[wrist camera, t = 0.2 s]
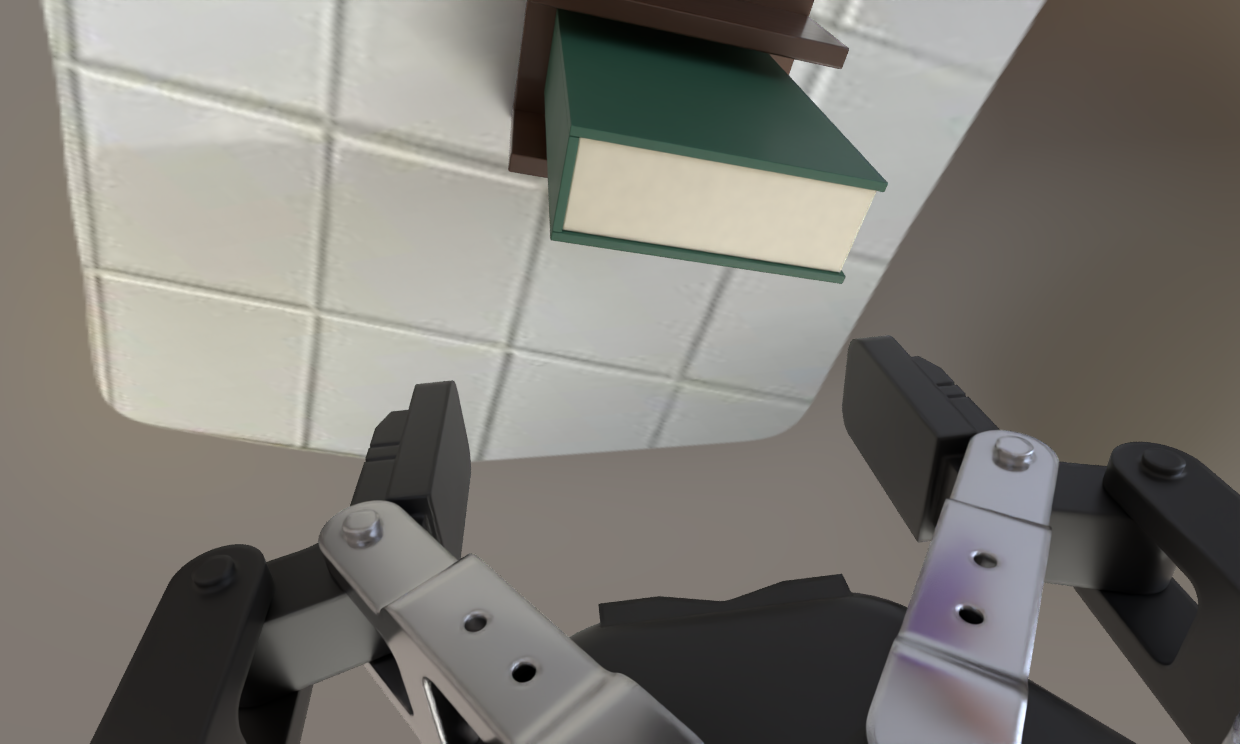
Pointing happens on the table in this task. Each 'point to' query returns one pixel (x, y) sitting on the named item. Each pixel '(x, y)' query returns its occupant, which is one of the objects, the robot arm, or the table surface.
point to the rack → (677, 3)
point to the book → (695, 153)
